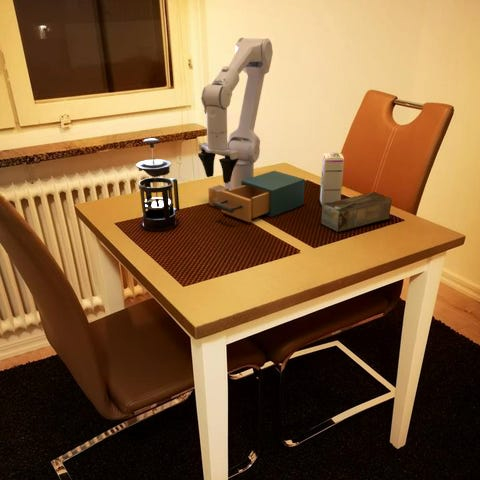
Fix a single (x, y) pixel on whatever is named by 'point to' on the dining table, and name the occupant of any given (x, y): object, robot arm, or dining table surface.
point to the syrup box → (331, 177)
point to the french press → (157, 208)
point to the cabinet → (279, 190)
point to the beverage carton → (356, 211)
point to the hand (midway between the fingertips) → (218, 179)
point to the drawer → (244, 202)
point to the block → (216, 194)
